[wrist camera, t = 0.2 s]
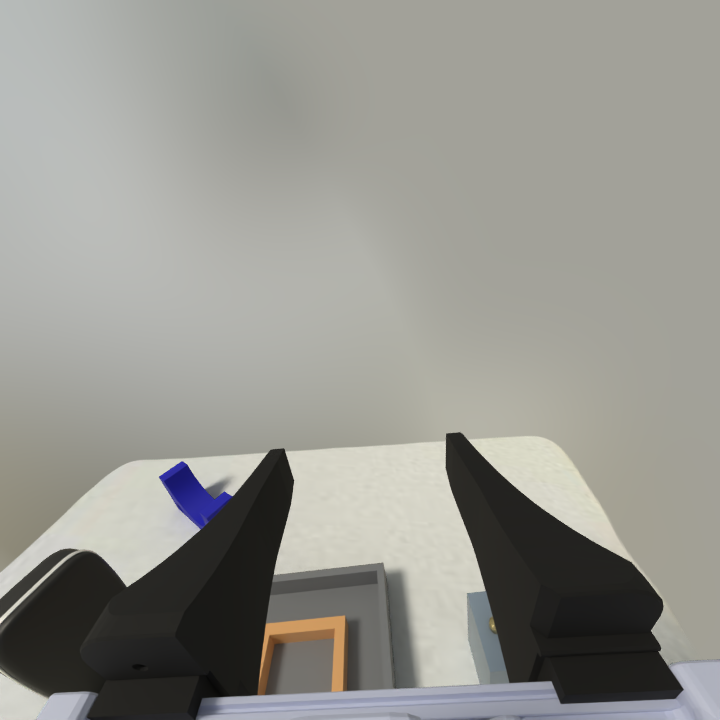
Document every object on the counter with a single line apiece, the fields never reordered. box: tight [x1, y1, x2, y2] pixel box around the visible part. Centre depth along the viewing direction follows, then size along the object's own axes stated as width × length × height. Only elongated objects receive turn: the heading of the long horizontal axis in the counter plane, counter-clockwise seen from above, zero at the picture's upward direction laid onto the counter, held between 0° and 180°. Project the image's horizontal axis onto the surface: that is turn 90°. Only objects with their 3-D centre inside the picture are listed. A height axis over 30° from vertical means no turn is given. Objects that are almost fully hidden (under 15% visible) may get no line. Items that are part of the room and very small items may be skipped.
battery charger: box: [0, 549, 127, 699], centre depth 24 cm, size 7×4×11 cm, turn 166°
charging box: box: [258, 563, 396, 695], centre depth 22 cm, size 14×14×2 cm
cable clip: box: [159, 461, 233, 529], centre depth 38 cm, size 12×4×6 cm, turn 54°
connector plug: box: [467, 591, 509, 685], centre depth 20 cm, size 4×4×7 cm
